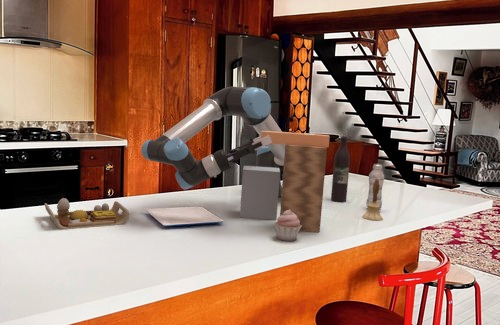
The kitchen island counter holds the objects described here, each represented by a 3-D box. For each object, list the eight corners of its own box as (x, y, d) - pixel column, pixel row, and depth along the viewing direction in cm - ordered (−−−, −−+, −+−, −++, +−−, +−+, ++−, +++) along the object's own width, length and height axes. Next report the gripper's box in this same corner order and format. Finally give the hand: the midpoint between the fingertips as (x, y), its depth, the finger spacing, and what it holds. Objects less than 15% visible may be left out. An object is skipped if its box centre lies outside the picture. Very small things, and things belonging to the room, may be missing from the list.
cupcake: (293, 244, 163) (295, 214, 162) (267, 238, 168) (269, 209, 167) (305, 238, 171) (308, 209, 170) (281, 232, 176) (283, 204, 175)
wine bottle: (329, 200, 234) (334, 136, 230) (332, 198, 241) (338, 135, 237) (344, 203, 232) (350, 137, 227) (347, 200, 238) (353, 136, 234)
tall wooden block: (280, 229, 180) (286, 145, 176) (279, 222, 190) (285, 142, 186) (319, 232, 180) (326, 148, 176) (316, 224, 190) (323, 145, 186)
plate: (163, 230, 170) (163, 224, 170) (144, 214, 190) (145, 208, 190) (224, 226, 181) (224, 220, 180) (200, 211, 200) (200, 206, 200)
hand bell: (383, 217, 209) (387, 179, 207) (382, 221, 201) (386, 182, 199) (363, 214, 212) (367, 176, 209) (360, 218, 204) (364, 179, 202)
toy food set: (52, 231, 162) (52, 208, 161) (43, 217, 177) (43, 196, 176) (130, 225, 175) (131, 203, 174) (115, 212, 190) (116, 192, 189)
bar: (260, 142, 179) (261, 131, 179) (260, 141, 183) (261, 130, 183) (328, 147, 179) (329, 135, 178) (327, 146, 183) (328, 134, 182)
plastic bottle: (381, 212, 218) (386, 166, 215) (365, 210, 219) (370, 164, 217) (381, 208, 224) (385, 164, 222) (365, 207, 226) (369, 162, 223)
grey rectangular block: (239, 217, 194) (242, 169, 191) (241, 211, 204) (244, 165, 201) (276, 219, 193) (280, 172, 191) (275, 213, 203) (279, 168, 201)
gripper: (225, 167, 195) (274, 142, 193) (218, 178, 170) (275, 150, 168) (216, 149, 194) (265, 125, 192) (208, 158, 170) (265, 130, 168)
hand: (270, 136), depth 180 cm, fingers open, 13 cm apart
